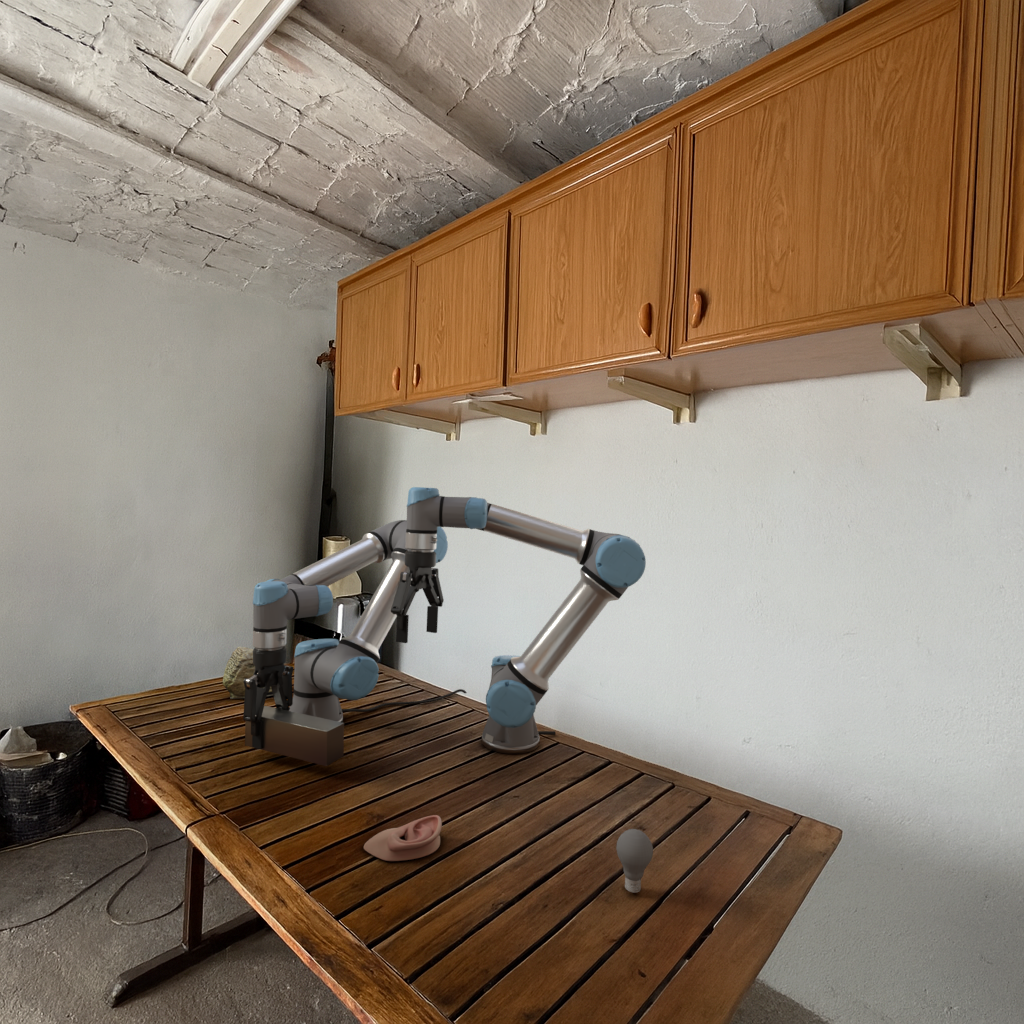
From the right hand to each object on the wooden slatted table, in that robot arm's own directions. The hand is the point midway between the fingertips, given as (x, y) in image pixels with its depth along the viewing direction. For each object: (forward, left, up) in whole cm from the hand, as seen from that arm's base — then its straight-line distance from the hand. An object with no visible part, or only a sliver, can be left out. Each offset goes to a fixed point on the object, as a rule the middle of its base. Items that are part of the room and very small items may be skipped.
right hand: (417, 637), depth 155 cm
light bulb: (-17, +65, -30) cm, 73 cm away
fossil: (+30, -64, -30) cm, 77 cm away
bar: (+27, -6, -26) cm, 38 cm away
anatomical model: (+14, +37, -30) cm, 49 cm away
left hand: (+32, -12, -26) cm, 43 cm away
